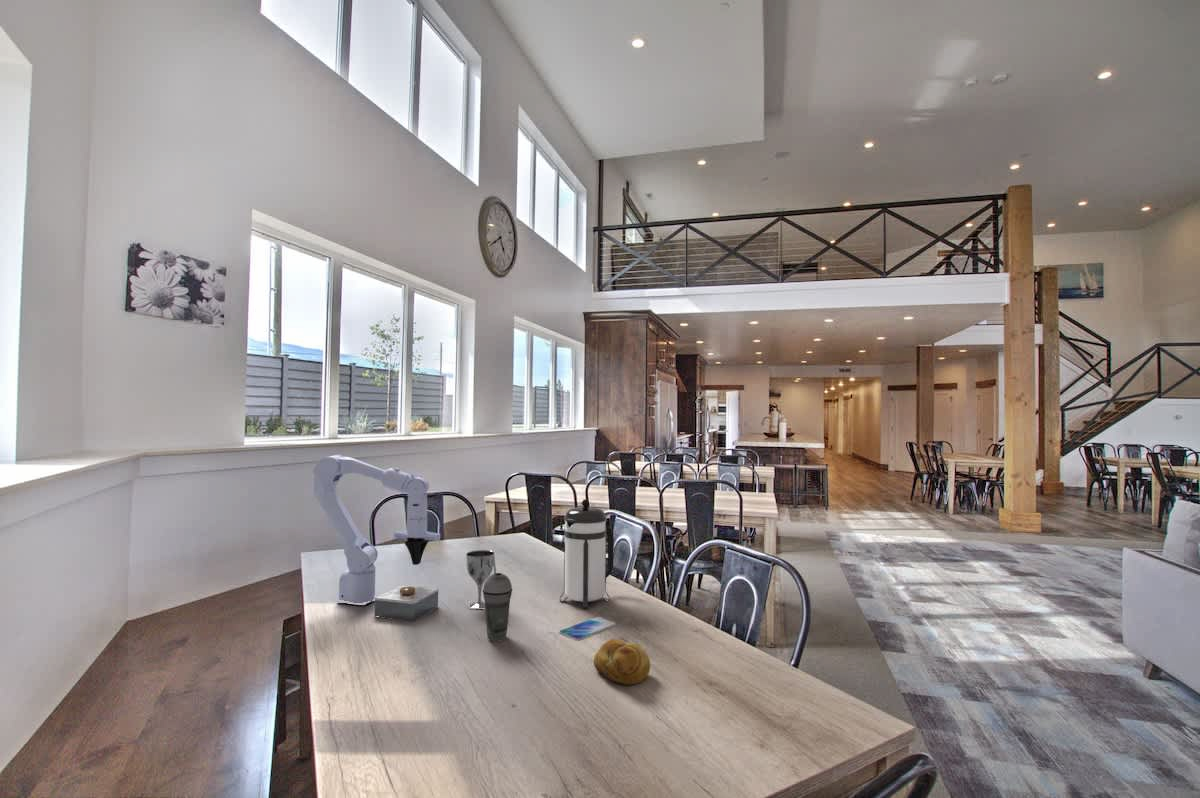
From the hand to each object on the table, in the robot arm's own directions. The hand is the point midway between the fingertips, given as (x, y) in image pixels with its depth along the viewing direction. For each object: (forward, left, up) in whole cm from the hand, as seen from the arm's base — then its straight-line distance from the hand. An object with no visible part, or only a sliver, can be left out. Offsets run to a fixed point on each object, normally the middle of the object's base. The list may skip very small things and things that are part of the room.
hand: (416, 563), depth 165 cm
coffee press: (+49, +14, -11) cm, 52 cm away
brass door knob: (+4, -10, -11) cm, 15 cm away
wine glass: (+21, 0, -11) cm, 23 cm away
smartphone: (+56, -8, -11) cm, 58 cm away
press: (+4, -9, -10) cm, 14 cm away
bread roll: (+70, -31, -11) cm, 77 cm away
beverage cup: (+36, -20, -11) cm, 42 cm away
